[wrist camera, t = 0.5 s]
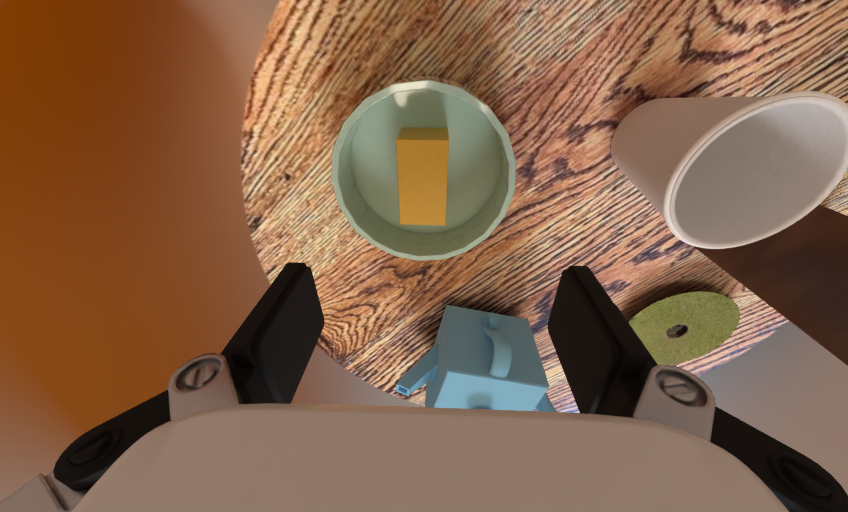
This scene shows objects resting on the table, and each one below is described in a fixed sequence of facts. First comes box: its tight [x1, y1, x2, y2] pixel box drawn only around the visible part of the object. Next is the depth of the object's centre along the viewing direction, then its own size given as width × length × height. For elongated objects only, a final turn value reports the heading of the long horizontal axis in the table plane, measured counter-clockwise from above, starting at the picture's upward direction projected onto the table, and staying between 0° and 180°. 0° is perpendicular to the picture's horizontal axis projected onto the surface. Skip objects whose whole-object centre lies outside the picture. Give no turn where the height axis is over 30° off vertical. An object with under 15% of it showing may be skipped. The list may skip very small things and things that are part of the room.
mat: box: [629, 291, 740, 365], centre depth 34 cm, size 11×11×2 cm
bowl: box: [331, 76, 516, 261], centre depth 25 cm, size 13×13×4 cm
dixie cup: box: [611, 91, 848, 249], centre depth 20 cm, size 8×8×10 cm
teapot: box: [395, 305, 557, 412], centre depth 33 cm, size 16×18×11 cm
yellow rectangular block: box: [396, 127, 449, 225], centre depth 24 cm, size 6×4×4 cm, turn 0°
